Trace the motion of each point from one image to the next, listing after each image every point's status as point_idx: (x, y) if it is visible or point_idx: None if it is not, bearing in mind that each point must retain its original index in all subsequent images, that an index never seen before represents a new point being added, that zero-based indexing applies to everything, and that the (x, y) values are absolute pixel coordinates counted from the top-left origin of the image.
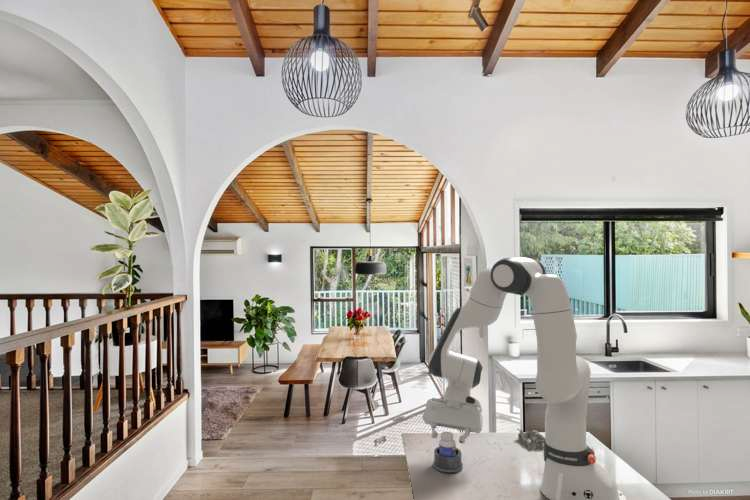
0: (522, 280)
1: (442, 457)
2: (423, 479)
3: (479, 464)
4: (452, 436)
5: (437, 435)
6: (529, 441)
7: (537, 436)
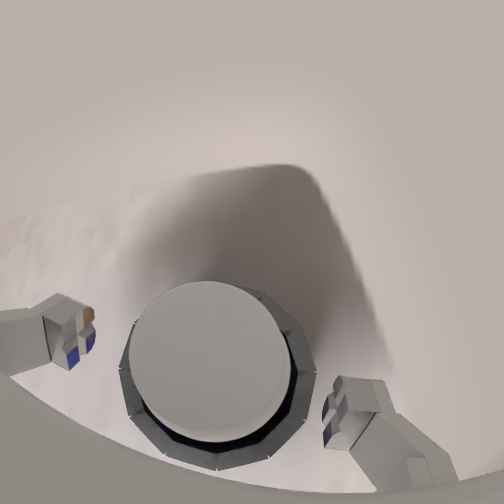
0: None
1: (244, 289)
2: (316, 240)
3: None
4: (139, 327)
5: (324, 431)
6: None
7: None
